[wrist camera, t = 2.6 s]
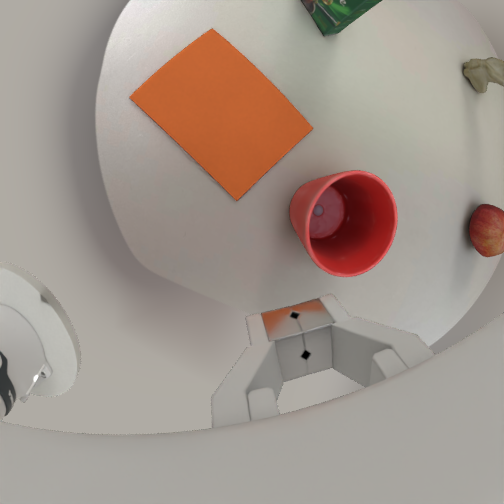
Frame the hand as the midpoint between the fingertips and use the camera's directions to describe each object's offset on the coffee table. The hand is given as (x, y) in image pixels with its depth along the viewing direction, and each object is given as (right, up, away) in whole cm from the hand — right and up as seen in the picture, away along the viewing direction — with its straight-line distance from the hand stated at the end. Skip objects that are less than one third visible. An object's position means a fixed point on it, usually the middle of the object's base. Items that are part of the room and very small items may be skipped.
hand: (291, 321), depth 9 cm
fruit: (+43, +8, +34) cm, 55 cm away
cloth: (-5, +19, +20) cm, 28 cm away
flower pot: (+7, +8, +26) cm, 28 cm away
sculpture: (+41, +37, +24) cm, 60 cm away
